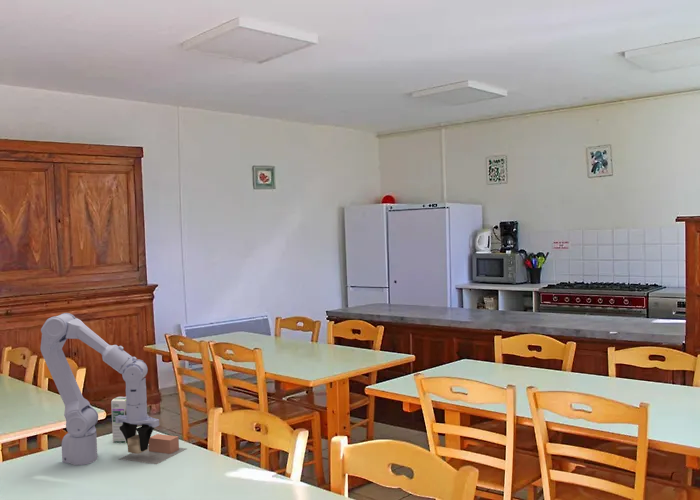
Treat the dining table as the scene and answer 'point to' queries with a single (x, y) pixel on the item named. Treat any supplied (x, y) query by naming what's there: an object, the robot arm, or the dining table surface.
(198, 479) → the dining table surface
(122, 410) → the syrup box
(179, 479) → the dining table surface
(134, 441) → the beech cube
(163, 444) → the terracotta brick
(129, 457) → the building plate
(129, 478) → the dining table surface
